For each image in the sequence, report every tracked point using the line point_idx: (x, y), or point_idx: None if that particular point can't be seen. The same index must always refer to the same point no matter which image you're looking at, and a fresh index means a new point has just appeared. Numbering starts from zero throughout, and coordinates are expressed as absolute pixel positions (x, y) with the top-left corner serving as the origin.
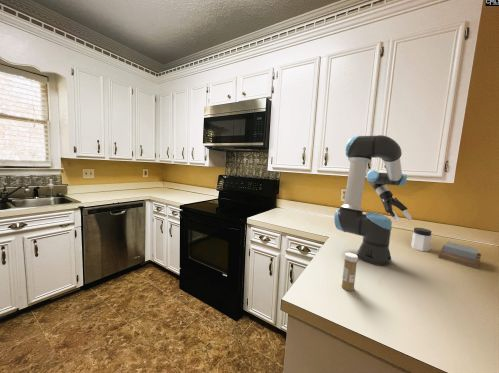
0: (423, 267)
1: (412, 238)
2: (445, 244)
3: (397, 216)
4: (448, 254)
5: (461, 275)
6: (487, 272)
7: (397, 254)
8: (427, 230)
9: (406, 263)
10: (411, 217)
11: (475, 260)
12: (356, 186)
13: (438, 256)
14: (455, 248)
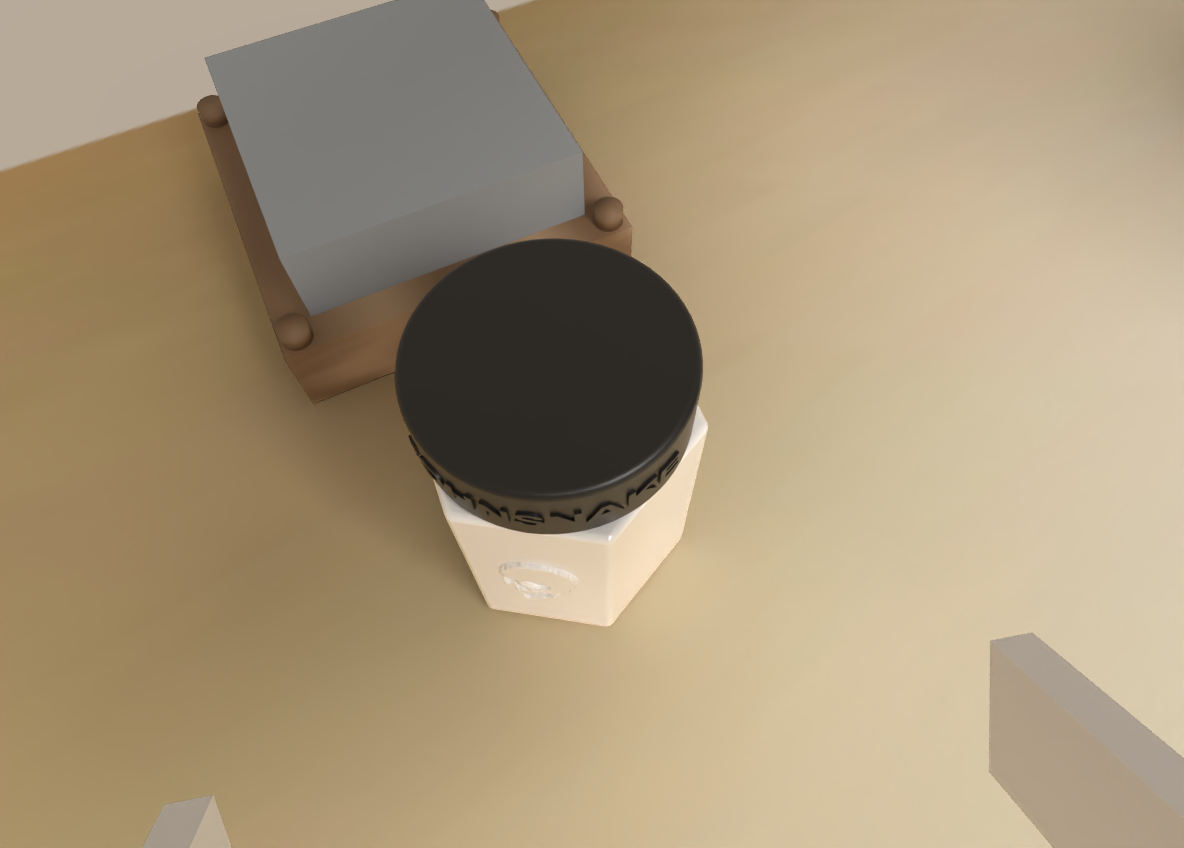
0: (1050, 154)
1: (629, 565)
2: (497, 180)
3: (1119, 718)
4: (592, 170)
5: (813, 36)
6: None
7: (1119, 409)
8: (505, 298)
9: (1178, 227)
10: (198, 825)
11: None
12: None
13: None
14: (531, 83)
